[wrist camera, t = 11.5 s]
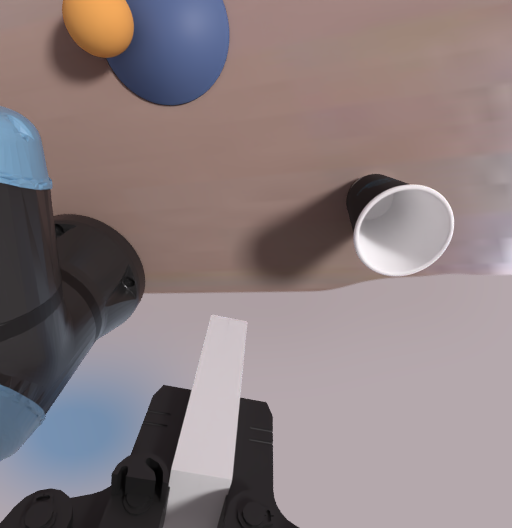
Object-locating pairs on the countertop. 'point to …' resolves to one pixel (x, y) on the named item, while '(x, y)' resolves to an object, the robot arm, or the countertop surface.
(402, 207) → the dixie cup
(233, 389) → the robot arm
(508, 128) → the countertop surface
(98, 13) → the ball
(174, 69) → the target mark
